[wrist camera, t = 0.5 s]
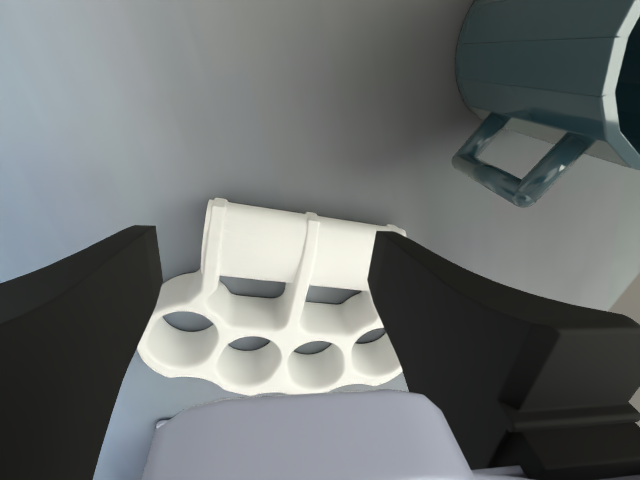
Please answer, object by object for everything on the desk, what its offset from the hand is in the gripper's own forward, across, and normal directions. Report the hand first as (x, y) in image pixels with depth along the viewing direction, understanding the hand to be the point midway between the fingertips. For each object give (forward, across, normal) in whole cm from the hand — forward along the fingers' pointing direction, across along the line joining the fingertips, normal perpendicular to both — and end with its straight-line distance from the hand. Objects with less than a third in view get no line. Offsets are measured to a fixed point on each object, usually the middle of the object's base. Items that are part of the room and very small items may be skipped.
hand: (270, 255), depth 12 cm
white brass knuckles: (+10, -2, +9) cm, 14 cm away
